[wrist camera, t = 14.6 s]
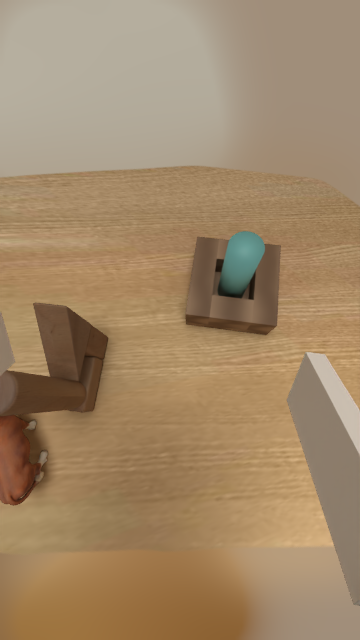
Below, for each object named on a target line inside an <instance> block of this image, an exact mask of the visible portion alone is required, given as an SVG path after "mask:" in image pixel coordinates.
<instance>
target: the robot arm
mask: <svg viewBox="0 0 360 640" xmlns="http://www.w3.org/2000/svg"><path fill="white" fill-rule="evenodd" d="M14 362H15V359H14V356H13V352H12V349H11V345H10V342H9V338H8V335H7V331H6V328H5V324H4V321H3V317H2V314H1V312H0V376H1V375H2V374H3V373H4V372H5V371H6V370H7V369H8V368H9V367H10V366H11V365H12V364H13V363H14ZM287 402H288V405H289V408H290V412H291V415H292V418H293V421H294V424H295V427H296V430H297V433H298V436H299V439H300V442H301V445H302V448H303V451H304V454H305V457H306V460H307V464H308V467H309V470H310V473H311V476H312V479H313V482H314V485H315V488H316V491H317V494H318V497H319V500H320V503H321V506H322V509H323V513H324V516H325V519H326V522H327V525H328V528H329V531H330V534H331V537H332V540H333V543H334V546H335V549H336V552H337V555H338V558H339V561H340V565H341V568H342V571H343V573H344V577H345V580H346V583H347V586H348V589H349V592H350V595H351V598H352V601H353V604H354V605H360V410H359V409H358V407H357V405H356V404H355V402H354V401H353V399H352V397H351V396H350V394H349V393H348V391H347V389H346V388H345V386H344V385H343V383H342V381H341V380H340V378H339V376H338V375H337V373H336V372H335V370H334V368H333V367H332V365H331V364H330V362H329V360H328V359H327V357H326V356H325V354H318V353H310V352H306V353H305V355H304V358H303V360H302V363H301V365H300V368H299V370H298V373H297V375H296V378H295V380H294V383H293V385H292V388H291V390H290V393H289V395H288V398H287Z"/></svg>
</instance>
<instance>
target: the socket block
mask: <svg viewBox="0 0 360 640" xmlns="http://www.w3.org/2000/svg"><path fill="white" fill-rule="evenodd" d="M228 242H229V240H223V239H214V238H204V237H197V242H196V248H195V255H194V262H193V268H192V275H191V282H190V288H189V295H188V302H187V308H186V324H189V325H196V326H204V327H211V328H219V329H226V330H234V331H241V332H249V333H256V334H264V335H267V334H268V333H269V332H270V331H271V330H273V329H274V328H275V327H276V326H277V314H278V293H279V272H280V251H281V246H280V245H270V244H264V245H265V252H264V254H263V256H262V258H261V260H260V262H259V264H258V266H257V268H256V270H255V272H254V274H253V276H252V278H251V280H250V282H249V284H248V286H247V288H246V290H245V292H244V294H243V296H242V298H233V297H225V296H219V295H218V291H217V289H218V284H219V280H220V276H221V272H222V267H223V263H224V259H225V255H226V251H227V246H228Z"/></svg>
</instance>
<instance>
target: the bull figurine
mask: <svg viewBox="0 0 360 640" xmlns="http://www.w3.org/2000/svg"><path fill="white" fill-rule="evenodd" d="M36 424H37V422H36V420H32V421H31V422H30V423H29V424H28V423H27V422H26V421H23V420H22V419H20V418H18V417H17V416H15V415H9V416H0V500H1V501H2V502H3V503H4V504H10V505H18V504H20V503H22V502H23V501H24V500H25V499H26V498H27V497H28V496H29V494H30V493H31V491H32V490H33V488H34V487H35V486H36V485H37V484H38V483H39V482H40V481H41V479H42V478H43V475H44V472H43V471H41V472H40V470H41V467H42V465H43V464H44V463H45V462H46V461H47V459H46V457H47V456H48V452H47V451H46V450H42V451H41V454H40V456H39V461H38V462H37V463H36V464H31V463H30V462H29V455H30V443H29V441H28V439H27V437H26V436H25V435H24V434H23V430H25V429H29V430H31V429H35V426H36ZM22 429H23V430H22ZM30 487H31V488H30ZM27 491H28V492H27ZM26 492H27V493H26ZM25 493H26V494H25ZM24 494H25V495H24ZM23 495H24V496H23ZM22 496H23V497H22ZM20 497H22V498H20ZM19 498H20V499H19Z"/></svg>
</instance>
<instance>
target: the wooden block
mask: <svg viewBox="0 0 360 640" xmlns="http://www.w3.org/2000/svg"><path fill="white" fill-rule="evenodd" d="M33 305H34V309H35V314H36V318H37V322H38V326H39V331H40V335H41V339H42V344H43V348H44V352H45V356H46V361H47V365H48V369H49V373H50V377H48V376H42V375H35V374H28V373H22V372H15V371H8V370H6V371H5V372H4V373H3V374H2V375H1V376H0V416H9V415H19V414H29V413H40V412H50V411H60V410H70V411H77V412H88V411H93V409H94V404H95V399H96V394H97V389H98V384H99V379H100V375H101V370H102V365H103V360H102V359H103V358H104V355H105V350H106V345H107V340H108V337H107V336H106V335H104V334H103V333H101V332H100V331H99V330H97V329H96V328H95V327H93V326H92V325H91V324H90V323H88V322H87V321H86V320H84V319H83V318H82V317H80V316H79V315H78V314H76V313H75V312H73V311H72V310H71V309H69V308H68V307H67V306H61V305H52V304H42V303H34V304H33Z"/></svg>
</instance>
